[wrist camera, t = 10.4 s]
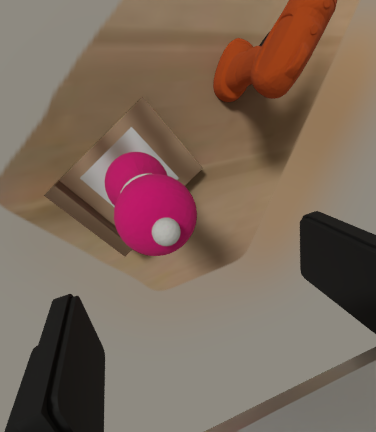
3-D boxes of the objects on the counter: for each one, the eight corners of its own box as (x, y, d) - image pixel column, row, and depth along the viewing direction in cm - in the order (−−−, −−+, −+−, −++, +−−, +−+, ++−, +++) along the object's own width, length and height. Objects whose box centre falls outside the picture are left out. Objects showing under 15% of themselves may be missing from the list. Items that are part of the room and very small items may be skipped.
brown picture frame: (140, 98, 32) (146, 93, 27) (198, 166, 37) (211, 171, 32) (52, 186, 32) (44, 195, 27) (122, 241, 37) (124, 256, 33)
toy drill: (303, -41, 31) (441, -139, 18) (232, 107, 36) (296, 115, 23) (275, -70, 29) (406, -205, 16) (204, 91, 35) (257, 90, 22)
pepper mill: (145, 212, 34) (190, 302, 16) (94, 189, 31) (82, 270, 13) (169, 165, 33) (245, 208, 15) (119, 138, 30) (142, 151, 12)
